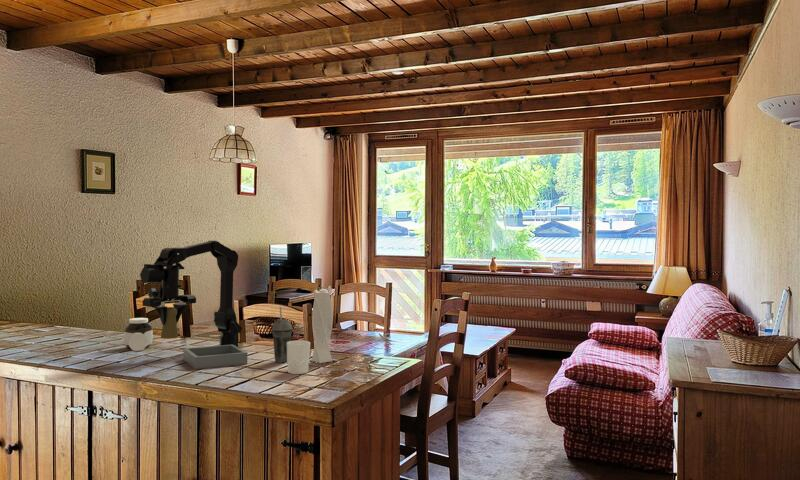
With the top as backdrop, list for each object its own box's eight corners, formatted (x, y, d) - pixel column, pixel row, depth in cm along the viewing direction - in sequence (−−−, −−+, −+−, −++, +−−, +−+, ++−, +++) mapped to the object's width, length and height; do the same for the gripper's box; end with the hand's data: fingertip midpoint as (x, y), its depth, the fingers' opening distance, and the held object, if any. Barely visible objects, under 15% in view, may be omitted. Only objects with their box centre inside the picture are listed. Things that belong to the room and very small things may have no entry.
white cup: (298, 375, 188) (299, 345, 188) (281, 372, 193) (281, 342, 193) (314, 371, 195) (315, 342, 195) (297, 368, 199) (297, 339, 199)
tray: (232, 354, 220) (232, 344, 220) (247, 363, 205) (247, 352, 205) (183, 359, 210) (183, 348, 210) (194, 369, 195) (195, 357, 195)
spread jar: (143, 345, 237) (143, 316, 237) (161, 348, 231) (161, 319, 231) (116, 349, 227) (116, 320, 227) (133, 352, 221) (134, 322, 221)
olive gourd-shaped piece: (181, 336, 215) (181, 306, 215) (173, 338, 209) (173, 308, 209) (165, 335, 216) (166, 306, 216) (157, 338, 210) (158, 308, 210)
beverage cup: (295, 360, 211) (296, 306, 211) (283, 364, 205) (284, 308, 205) (279, 358, 214) (280, 305, 214) (267, 362, 208) (268, 307, 208)
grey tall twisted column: (338, 362, 210) (339, 285, 210) (320, 365, 205) (321, 286, 205) (324, 358, 216) (325, 284, 216) (306, 361, 211) (307, 285, 211)
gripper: (180, 279, 225) (179, 319, 225) (134, 281, 210) (133, 324, 210) (197, 281, 218) (196, 322, 218) (151, 283, 203) (150, 327, 203)
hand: (169, 324), depth 213 cm, fingers closed on olive gourd-shaped piece, 4 cm apart
